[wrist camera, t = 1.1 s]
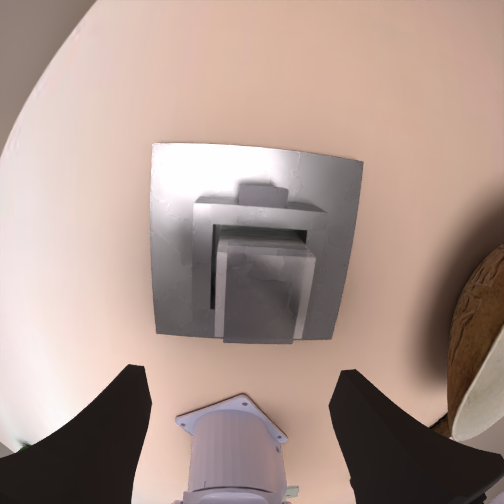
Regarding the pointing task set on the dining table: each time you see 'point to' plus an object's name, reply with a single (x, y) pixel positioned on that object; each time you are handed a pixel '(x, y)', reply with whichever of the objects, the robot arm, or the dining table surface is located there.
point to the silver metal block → (261, 285)
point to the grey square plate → (245, 224)
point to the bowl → (477, 351)
